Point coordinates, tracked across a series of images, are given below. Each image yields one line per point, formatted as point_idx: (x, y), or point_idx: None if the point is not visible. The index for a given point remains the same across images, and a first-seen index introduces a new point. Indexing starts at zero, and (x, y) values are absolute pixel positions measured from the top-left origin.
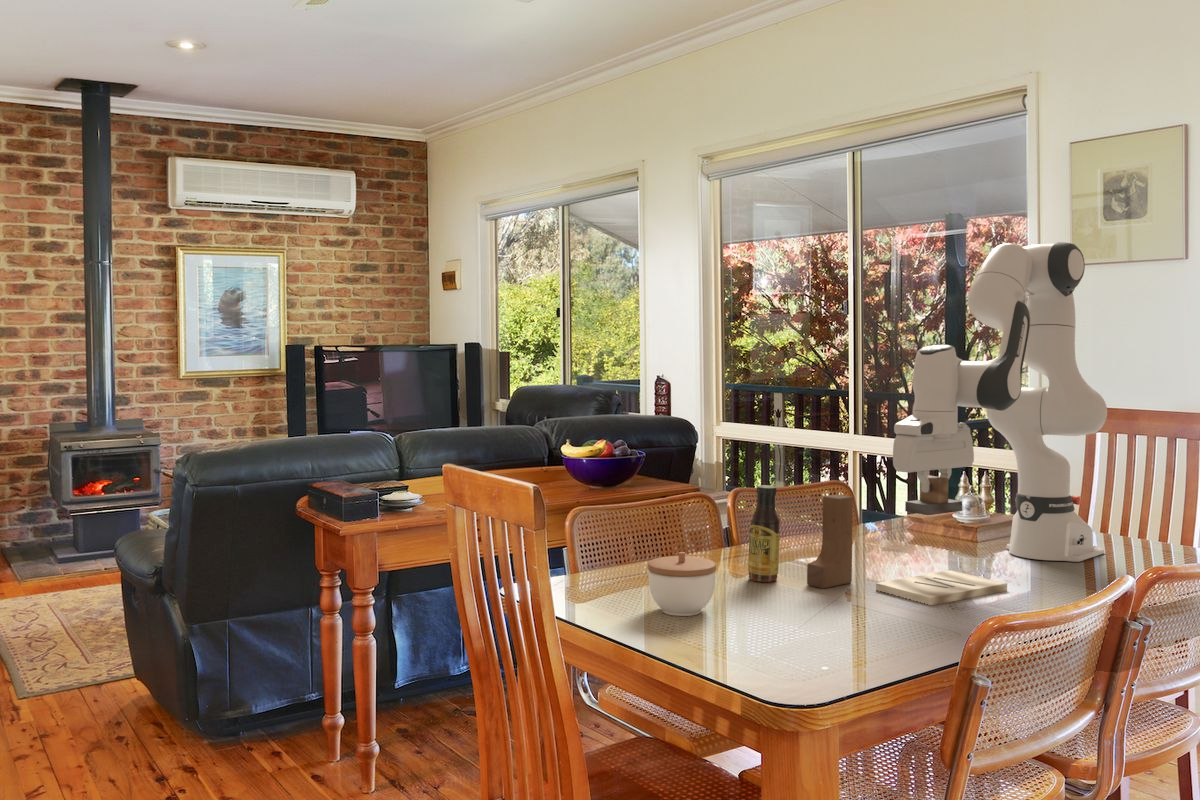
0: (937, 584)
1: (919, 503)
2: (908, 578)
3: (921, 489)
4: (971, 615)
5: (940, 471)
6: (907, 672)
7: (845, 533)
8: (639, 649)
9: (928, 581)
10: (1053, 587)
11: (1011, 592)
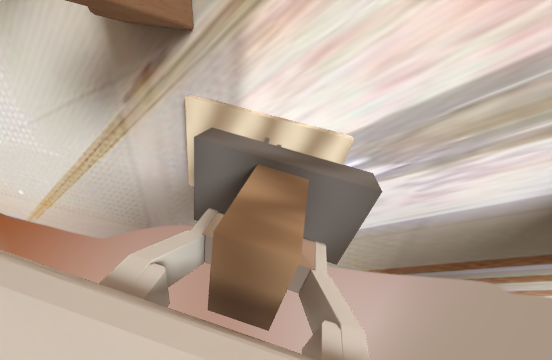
0: None
1: (202, 189)
2: (247, 117)
3: (206, 212)
4: None
5: (316, 335)
6: (68, 228)
7: (82, 1)
8: None
9: None
10: (371, 246)
11: None
